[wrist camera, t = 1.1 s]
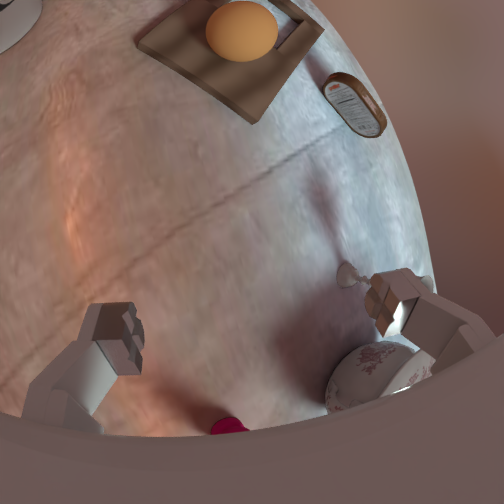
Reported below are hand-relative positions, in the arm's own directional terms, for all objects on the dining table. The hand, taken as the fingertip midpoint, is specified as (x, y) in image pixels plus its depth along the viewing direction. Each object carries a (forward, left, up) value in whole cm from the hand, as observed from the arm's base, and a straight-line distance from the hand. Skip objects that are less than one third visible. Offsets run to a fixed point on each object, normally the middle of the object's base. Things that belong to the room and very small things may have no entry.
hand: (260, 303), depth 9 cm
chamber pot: (+53, -8, -30) cm, 61 cm away
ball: (-7, +30, -22) cm, 38 cm away
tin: (+17, +38, -30) cm, 51 cm away
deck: (-7, +36, -29) cm, 47 cm away
